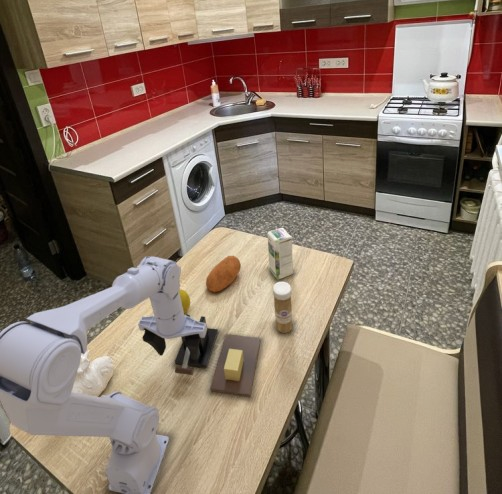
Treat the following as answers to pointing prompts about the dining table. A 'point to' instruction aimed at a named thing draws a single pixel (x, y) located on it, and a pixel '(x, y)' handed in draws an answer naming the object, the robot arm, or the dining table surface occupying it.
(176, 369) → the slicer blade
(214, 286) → the potato
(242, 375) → the board
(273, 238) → the syrup box
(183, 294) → the lemon
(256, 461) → the dining table surface
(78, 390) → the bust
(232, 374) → the butter
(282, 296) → the sprinkles bottle
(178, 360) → the slicer
